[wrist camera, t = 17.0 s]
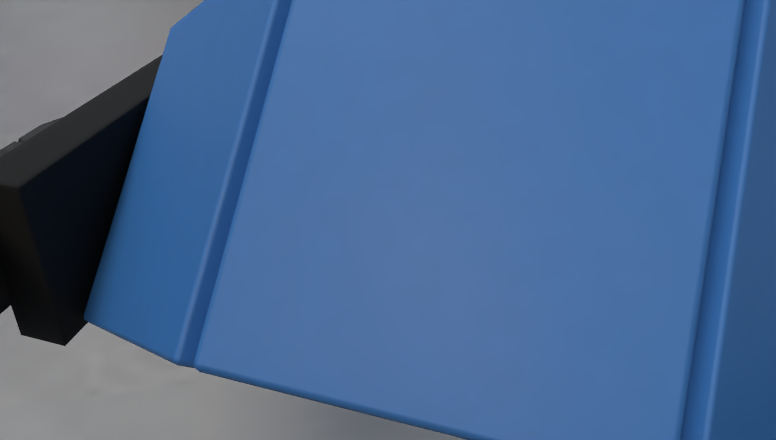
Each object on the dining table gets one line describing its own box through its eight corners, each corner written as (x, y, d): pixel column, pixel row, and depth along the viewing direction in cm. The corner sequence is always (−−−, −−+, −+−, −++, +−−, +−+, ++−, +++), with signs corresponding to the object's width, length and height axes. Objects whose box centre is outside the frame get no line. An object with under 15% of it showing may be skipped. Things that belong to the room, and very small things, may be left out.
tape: (717, 451, 16) (1171, 617, 5) (259, 342, 18) (-106, 295, 7) (744, 247, 17) (1186, 10, 6) (305, 167, 19) (37, -108, 8)
